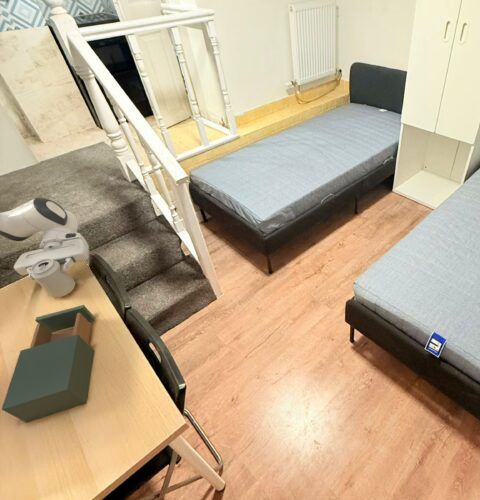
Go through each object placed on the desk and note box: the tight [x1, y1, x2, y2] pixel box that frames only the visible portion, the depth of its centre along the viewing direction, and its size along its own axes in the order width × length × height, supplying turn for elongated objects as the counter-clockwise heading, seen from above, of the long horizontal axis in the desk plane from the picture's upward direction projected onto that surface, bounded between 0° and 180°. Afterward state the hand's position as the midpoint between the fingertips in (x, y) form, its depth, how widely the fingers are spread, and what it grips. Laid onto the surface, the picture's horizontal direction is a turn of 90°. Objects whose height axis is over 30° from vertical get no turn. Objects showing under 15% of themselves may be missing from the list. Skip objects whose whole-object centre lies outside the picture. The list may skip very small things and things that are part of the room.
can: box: [30, 258, 76, 298], centre depth 106 cm, size 8×8×12 cm
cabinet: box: [1, 335, 95, 423], centre depth 85 cm, size 16×14×9 cm
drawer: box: [29, 304, 96, 348], centre depth 94 cm, size 16×12×7 cm
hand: (48, 274), depth 104 cm, fingers closed on can, 7 cm apart
